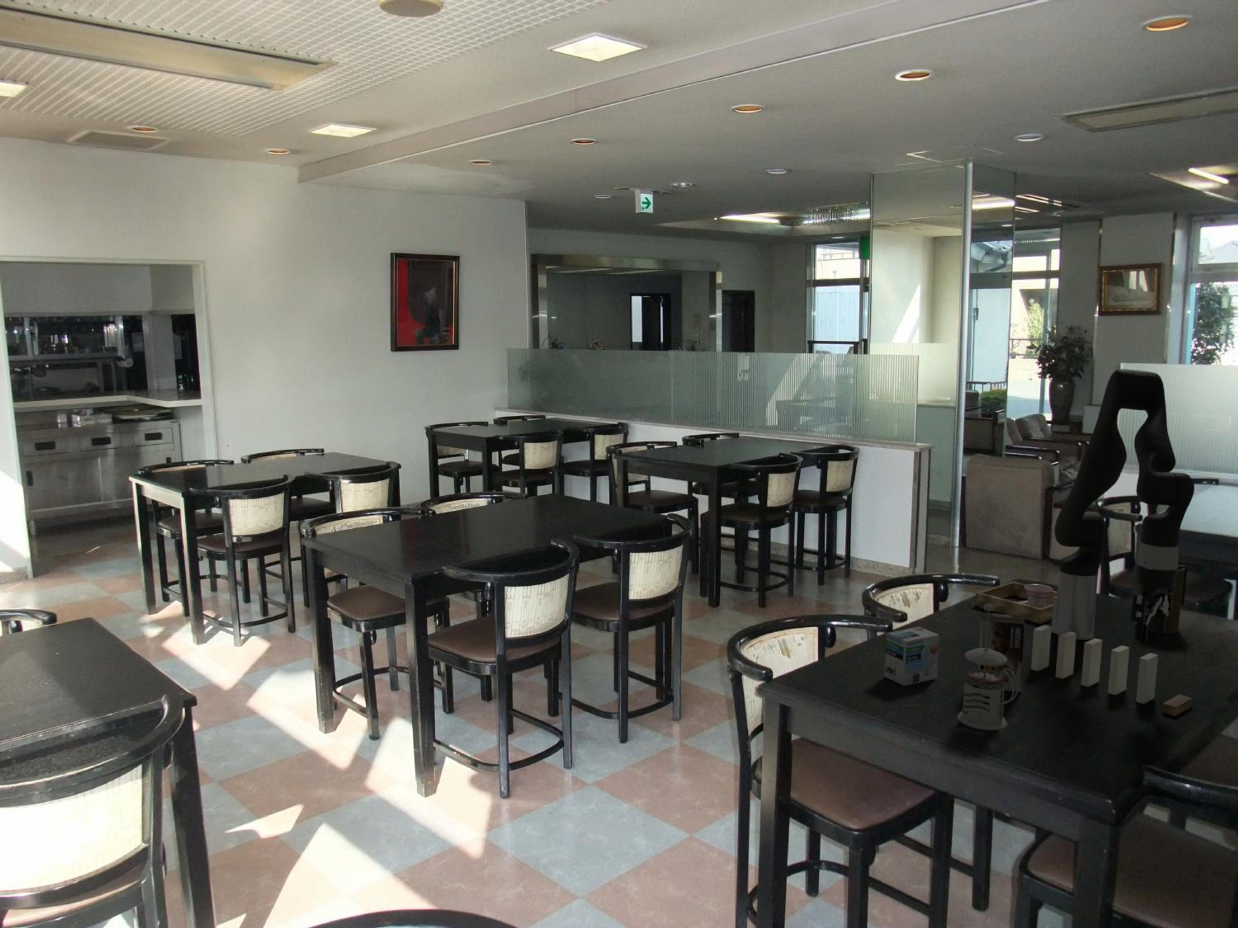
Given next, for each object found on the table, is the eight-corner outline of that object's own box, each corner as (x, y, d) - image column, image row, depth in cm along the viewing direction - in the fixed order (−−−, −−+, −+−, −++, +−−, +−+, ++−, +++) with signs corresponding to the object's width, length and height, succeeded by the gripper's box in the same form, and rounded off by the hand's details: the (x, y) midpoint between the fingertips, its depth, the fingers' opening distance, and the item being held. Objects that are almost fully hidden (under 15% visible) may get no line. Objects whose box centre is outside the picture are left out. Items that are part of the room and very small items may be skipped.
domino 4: (1107, 692, 208) (1111, 649, 206) (1118, 687, 211) (1122, 645, 209) (1115, 695, 206) (1119, 652, 205) (1125, 689, 209) (1129, 647, 208)
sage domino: (1136, 701, 203) (1140, 657, 201) (1146, 695, 206) (1150, 652, 204) (1143, 703, 202) (1147, 659, 200) (1154, 698, 205) (1158, 654, 203)
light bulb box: (904, 686, 211) (906, 641, 209) (883, 676, 217) (885, 632, 215) (938, 678, 216) (940, 634, 214) (916, 669, 222) (919, 625, 220)
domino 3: (1081, 684, 212) (1084, 642, 211) (1091, 679, 215) (1095, 638, 214) (1088, 686, 211) (1091, 644, 210) (1098, 681, 214) (1102, 640, 213)
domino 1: (1031, 669, 222) (1033, 628, 220) (1041, 664, 225) (1044, 624, 223) (1037, 671, 221) (1040, 630, 219) (1048, 666, 224) (1051, 626, 222)
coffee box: (1019, 682, 213) (1023, 615, 211) (1021, 693, 207) (1026, 623, 205) (976, 677, 216) (981, 611, 214) (977, 687, 210) (982, 619, 208)
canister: (1142, 632, 248) (1148, 559, 245) (1129, 620, 258) (1136, 550, 255) (1187, 635, 246) (1194, 562, 243) (1173, 623, 256) (1179, 552, 253)
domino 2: (1055, 676, 217) (1058, 635, 216) (1066, 671, 220) (1069, 631, 219) (1062, 678, 216) (1065, 637, 214) (1073, 673, 219) (1076, 633, 217)
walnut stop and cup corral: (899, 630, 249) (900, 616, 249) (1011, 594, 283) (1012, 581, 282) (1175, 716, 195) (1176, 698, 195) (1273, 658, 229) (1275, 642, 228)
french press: (971, 706, 200) (978, 594, 196) (1024, 723, 192) (1032, 606, 188) (947, 718, 194) (954, 603, 190) (1001, 737, 185) (1009, 616, 181)
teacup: (1018, 600, 277) (1019, 580, 276) (1062, 606, 271) (1064, 585, 270) (1012, 610, 267) (1014, 590, 266) (1058, 617, 261) (1060, 596, 260)
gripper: (1153, 554, 206) (1146, 624, 209) (1123, 565, 198) (1116, 637, 200) (1190, 562, 200) (1182, 633, 203) (1160, 573, 192) (1153, 648, 195)
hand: (1149, 635), depth 202 cm, fingers open, 8 cm apart
